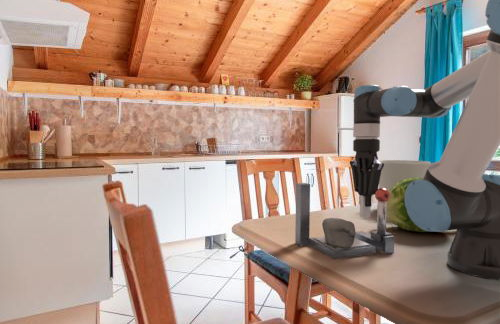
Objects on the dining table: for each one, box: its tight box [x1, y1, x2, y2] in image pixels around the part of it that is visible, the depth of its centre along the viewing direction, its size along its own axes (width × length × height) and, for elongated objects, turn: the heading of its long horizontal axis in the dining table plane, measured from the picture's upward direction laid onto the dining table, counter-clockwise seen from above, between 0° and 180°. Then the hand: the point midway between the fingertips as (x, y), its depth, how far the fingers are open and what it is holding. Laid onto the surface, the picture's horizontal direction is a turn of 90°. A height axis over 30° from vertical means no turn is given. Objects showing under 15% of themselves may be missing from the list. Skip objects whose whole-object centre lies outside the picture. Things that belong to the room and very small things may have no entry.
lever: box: [370, 187, 393, 242], centre depth 100 cm, size 4×4×15 cm
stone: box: [321, 217, 356, 249], centre depth 100 cm, size 9×9×10 cm
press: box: [294, 182, 395, 260], centre depth 102 cm, size 17×22×18 cm
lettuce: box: [376, 178, 429, 233], centre depth 121 cm, size 19×23×18 cm
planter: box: [378, 159, 432, 191], centre depth 155 cm, size 20×20×21 cm
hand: (365, 216), depth 108 cm, fingers closed
